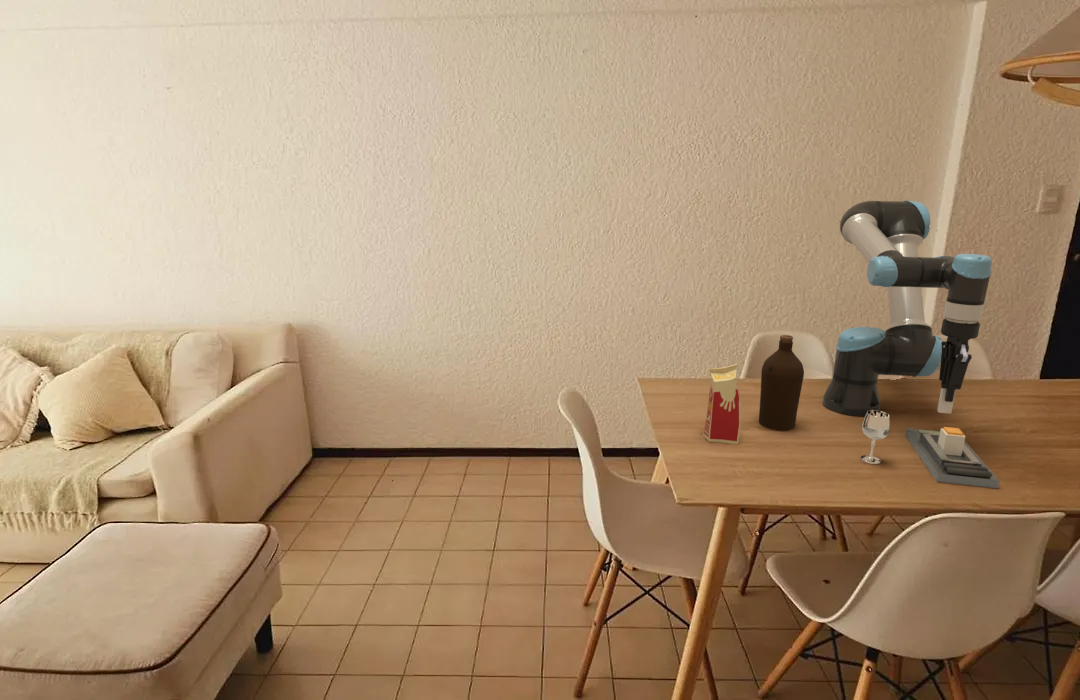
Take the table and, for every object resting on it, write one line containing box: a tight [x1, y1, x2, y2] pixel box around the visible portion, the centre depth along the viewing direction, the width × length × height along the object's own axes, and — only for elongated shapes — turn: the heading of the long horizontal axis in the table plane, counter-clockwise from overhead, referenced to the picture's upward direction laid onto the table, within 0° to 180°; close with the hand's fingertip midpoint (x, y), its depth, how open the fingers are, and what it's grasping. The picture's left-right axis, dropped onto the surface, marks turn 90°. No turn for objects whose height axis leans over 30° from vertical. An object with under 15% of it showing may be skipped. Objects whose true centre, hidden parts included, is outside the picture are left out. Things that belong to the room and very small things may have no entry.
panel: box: [904, 427, 1001, 489], centre depth 152 cm, size 12×26×3 cm, turn 165°
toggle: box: [938, 426, 966, 456], centre depth 151 cm, size 4×4×6 cm
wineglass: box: [859, 410, 891, 465], centre depth 151 cm, size 6×6×12 cm
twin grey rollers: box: [943, 463, 992, 478], centre depth 141 cm, size 9×4×1 cm, turn 75°
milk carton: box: [702, 363, 742, 445], centre depth 163 cm, size 9×9×20 cm
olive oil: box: [758, 334, 805, 432], centre depth 169 cm, size 11×11×25 cm
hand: (944, 412), depth 157 cm, fingers closed
